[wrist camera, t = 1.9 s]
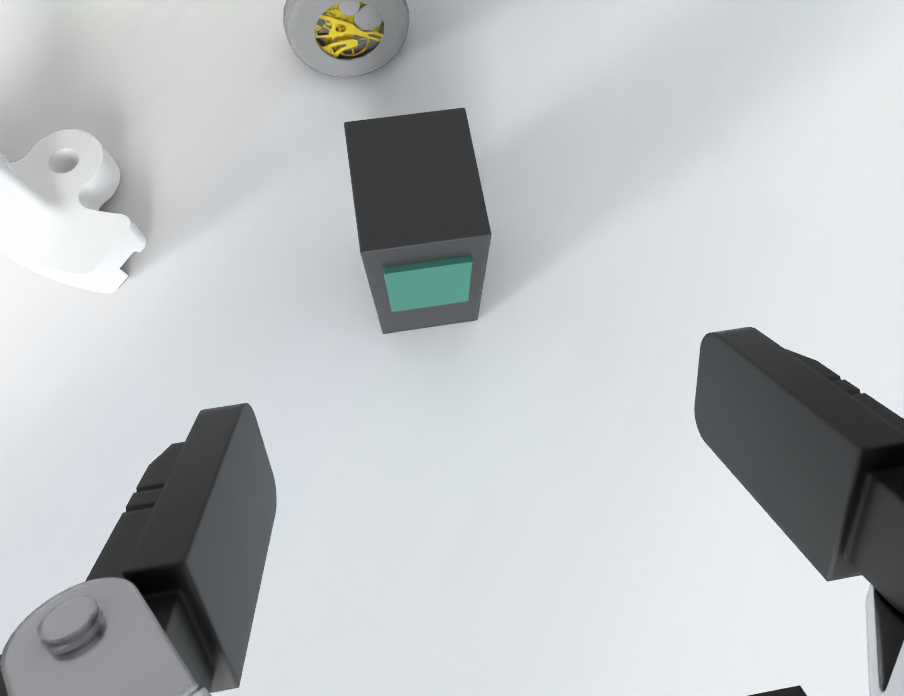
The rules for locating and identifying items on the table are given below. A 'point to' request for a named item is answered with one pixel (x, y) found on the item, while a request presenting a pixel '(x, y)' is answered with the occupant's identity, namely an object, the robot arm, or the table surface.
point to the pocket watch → (346, 33)
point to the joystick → (66, 212)
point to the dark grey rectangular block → (419, 217)
